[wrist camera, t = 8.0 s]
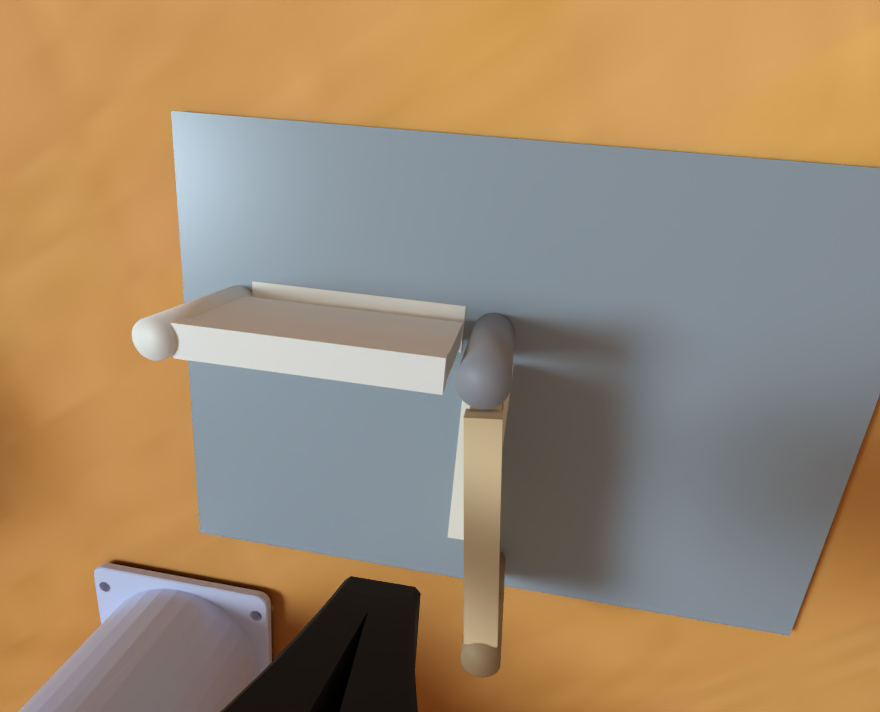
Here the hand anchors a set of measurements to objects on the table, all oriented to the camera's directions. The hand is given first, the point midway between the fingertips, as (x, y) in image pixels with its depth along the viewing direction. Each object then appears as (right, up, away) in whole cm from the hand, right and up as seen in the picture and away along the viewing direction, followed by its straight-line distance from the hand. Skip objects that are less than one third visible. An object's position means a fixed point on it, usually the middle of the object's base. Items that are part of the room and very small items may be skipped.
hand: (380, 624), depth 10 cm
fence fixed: (-1, +6, +9) cm, 11 cm away
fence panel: (+3, +1, +9) cm, 10 cm away
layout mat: (+3, +4, +9) cm, 10 cm away
